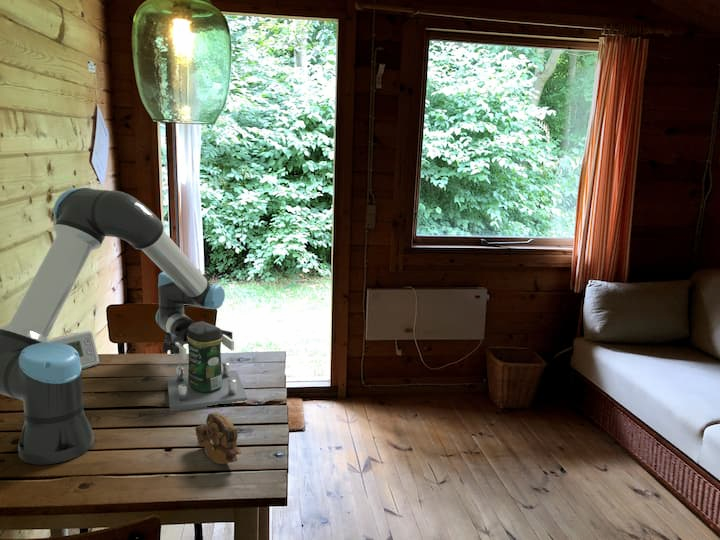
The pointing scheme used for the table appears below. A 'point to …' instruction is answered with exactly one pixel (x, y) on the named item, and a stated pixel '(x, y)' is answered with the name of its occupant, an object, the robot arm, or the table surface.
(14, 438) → the table surface
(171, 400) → the base plate
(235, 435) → the wooden carving
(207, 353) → the coffee jar
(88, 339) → the digital clock
